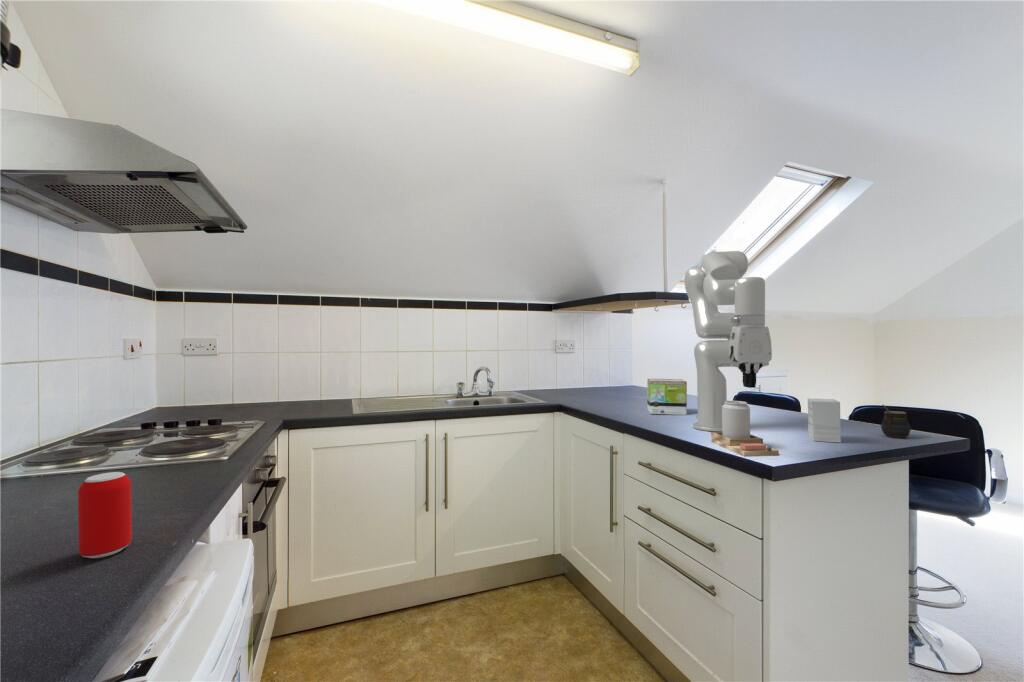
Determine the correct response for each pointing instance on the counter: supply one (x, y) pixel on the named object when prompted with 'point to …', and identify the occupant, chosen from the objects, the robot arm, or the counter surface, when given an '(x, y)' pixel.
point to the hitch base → (735, 443)
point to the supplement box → (824, 420)
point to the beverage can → (104, 514)
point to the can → (736, 420)
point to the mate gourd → (895, 424)
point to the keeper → (753, 446)
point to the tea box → (667, 396)
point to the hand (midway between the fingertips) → (749, 386)
